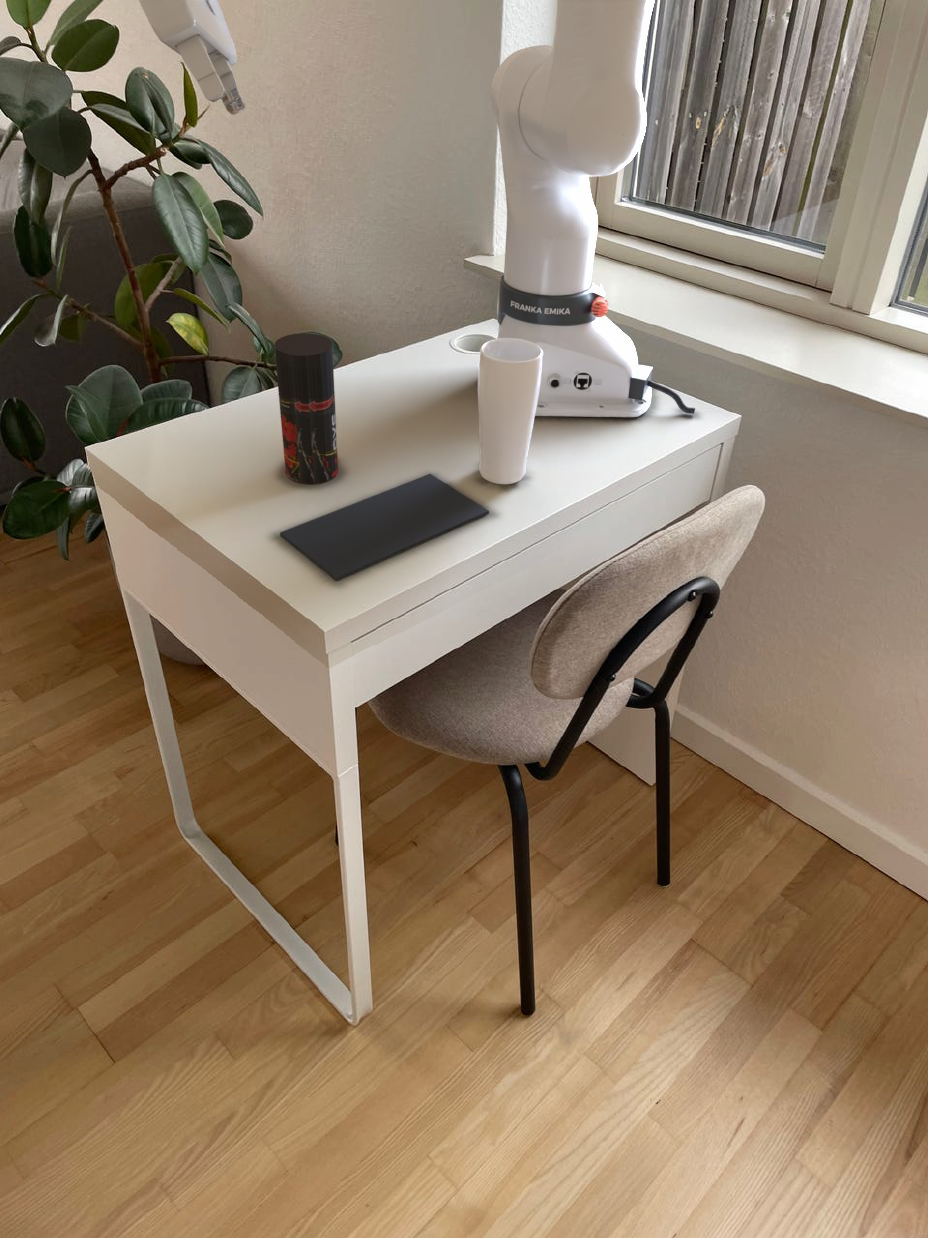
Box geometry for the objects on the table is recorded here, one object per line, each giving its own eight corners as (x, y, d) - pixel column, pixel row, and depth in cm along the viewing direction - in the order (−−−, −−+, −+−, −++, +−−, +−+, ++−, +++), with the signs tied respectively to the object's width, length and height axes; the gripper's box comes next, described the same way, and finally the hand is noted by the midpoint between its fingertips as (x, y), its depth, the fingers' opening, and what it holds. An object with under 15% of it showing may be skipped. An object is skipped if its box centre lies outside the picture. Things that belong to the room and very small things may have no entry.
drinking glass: (526, 493, 104) (539, 366, 95) (467, 485, 105) (473, 358, 96) (535, 464, 109) (547, 341, 100) (478, 457, 110) (485, 333, 101)
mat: (430, 476, 106) (430, 473, 106) (489, 513, 101) (489, 510, 100) (280, 535, 96) (279, 532, 95) (336, 581, 90) (336, 577, 90)
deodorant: (340, 482, 104) (335, 354, 95) (287, 486, 103) (275, 356, 94) (335, 456, 109) (329, 331, 100) (284, 460, 108) (272, 334, 98)
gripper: (150, -113, 74) (236, 72, 78) (208, -41, 92) (274, 103, 97) (81, -74, 74) (171, 106, 79) (152, -11, 93) (221, 131, 98)
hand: (228, 105), depth 89 cm, fingers open, 8 cm apart
